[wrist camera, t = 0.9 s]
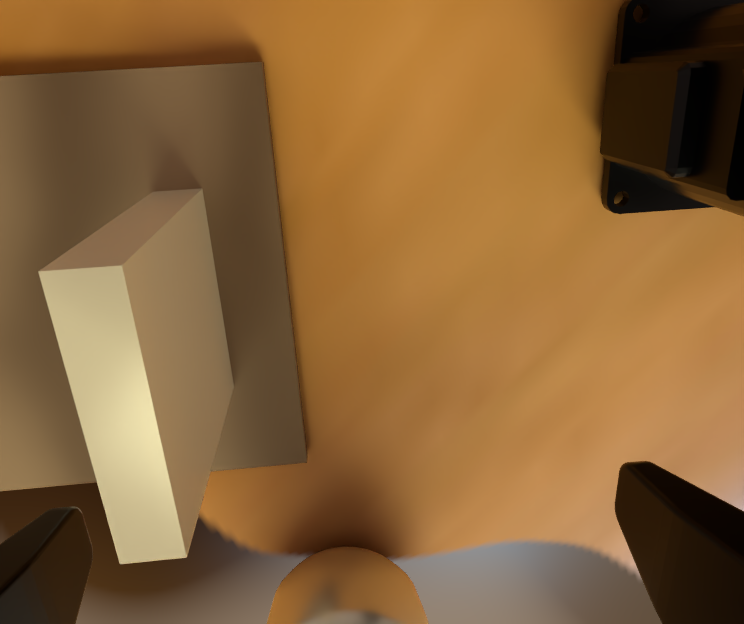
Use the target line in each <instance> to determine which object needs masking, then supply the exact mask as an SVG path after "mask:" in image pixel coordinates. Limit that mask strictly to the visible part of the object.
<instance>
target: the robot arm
mask: <svg viewBox="0 0 744 624" xmlns="http://www.w3.org/2000/svg"><path fill="white" fill-rule="evenodd" d="M637 5H638V6H640V7H641V8H642V10H643V15H642V18H641V20H640V21H639V22H636V21H635V20H634V19H633V11H634V9H635V7H636V6H637ZM600 153H601V154H602V155H603V156H604V158H605V164H604V175H603V185H602V196H601V199H602V204H603V206H604V208H606V209H607V210H609V211H611V212H613V213H618V214H624V213H638V212H652V211H666V210H680V209H694V208H708V207H717V208H720V209H723V210H726V211H729V212H732V213H735V214H738V215H741V216H744V0H626V1H625V2H624V3H623V5H622V7H621V8H620V12H619V15H618V26H617V37H616V47H615V58H614V65H613V67H612V68H611V69H610V70H609V71H608V73H607V80H606V91H605V102H604V113H603V124H602V135H601V146H600ZM621 191H622V192H623V198H622V200H621V201H620V202H619V203H617V204H615V203H614V197H615V195H616V194H617V193H618V192H621ZM615 513H616V517H617V520H618V522H619V525H620V527H621V530H622V532H623V535H624V537H625V539H626V542H627V544H628V547H629V549H630V551H631V554H632V556H633V559H634V561H635V563H636V566H637V568H638V571H639V573H640V575H641V578H642V580H643V583H644V585H645V587H646V590H647V592H648V595H649V597H650V599H651V601H652V604H653V606H654V608H655V610H656V612H657V614H658V616H659V618H660V620H661V622H662V624H744V511H742V510H740V509H738V508H736V507H734V506H732V505H731V504H729V503H727V502H725V501H723V500H721V499H719V498H717V497H715V496H714V495H712V494H710V493H708V492H706V491H704V490H702V489H700V488H699V487H697V486H695V485H693V484H691V483H689V482H687V481H685V480H684V479H682V478H680V477H678V476H676V475H674V474H672V473H670V472H668V471H667V470H665V469H663V468H661V467H659V466H657V465H655V464H653V463H651V462H648V461H639V462H627V463H624V464H623V465H622V466H621V468H620V471H619V478H618V485H617V492H616V499H615ZM92 560H93V549H92V544H91V541H90V537H89V534H88V530H87V527H86V524H85V520H84V517H83V514H82V511H81V510H80V509H79V508H77V507H62V508H52V509H49V510H47V511H46V512H44V513H43V514H42V515H40V516H39V517H38V518H36V519H35V520H33V521H32V522H30V523H29V524H28V525H26V526H25V527H23V528H22V529H21V530H19V531H18V532H17V533H15V534H14V535H12V536H11V537H10V538H8V539H7V540H5V541H4V542H2V543H1V544H0V624H75V623H76V620H77V616H78V612H79V608H80V605H81V601H82V597H83V594H84V591H85V587H86V583H87V580H88V576H89V572H90V569H91V565H92Z"/></svg>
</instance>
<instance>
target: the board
mask: <svg viewBox="0 0 744 624" xmlns="http://www.w3.org/2000/svg"><path fill="white" fill-rule="evenodd" d="M201 188H202V190H203V196H204V202H205V208H206V215H207V221H208V227H209V233H210V240H211V246H212V252H213V258H214V265H215V271H216V277H217V283H218V290H219V296H220V302H221V308H222V315H223V321H224V327H225V333H226V340H227V346H228V352H229V358H230V365H231V371H232V377H233V383H234V389H233V392H232V396H231V399H230V403H229V407H228V410H227V414H226V417H225V421H224V425H223V428H222V432H221V436H220V439H219V443H218V446H217V450H216V454H215V457H214V461H213V464H212V468H211V471H222V470H232V469H243V468H254V467H265V466H275V465H286V464H297V463H307V447H306V438H305V429H304V420H303V411H302V402H301V393H300V385H299V376H298V367H297V358H296V349H295V340H294V331H293V322H292V313H291V304H290V296H289V287H288V278H287V269H286V260H285V251H284V242H283V233H282V224H281V215H280V206H279V198H278V189H277V180H276V171H275V162H274V153H273V144H272V135H271V126H270V117H269V108H268V100H267V91H266V82H265V73H264V64H263V62H249V63H231V64H213V65H194V66H176V67H158V68H140V69H122V70H104V71H85V72H67V73H49V74H31V75H13V76H0V491H7V490H18V489H28V488H39V487H50V486H59V485H71V484H81V483H93V482H97V480H96V477H95V473H94V469H93V466H92V462H91V459H90V455H89V452H88V448H87V444H86V441H85V437H84V434H83V430H82V426H81V423H80V419H79V416H78V412H77V409H76V405H75V401H74V398H73V394H72V391H71V387H70V383H69V380H68V376H67V373H66V369H65V366H64V362H63V358H62V355H61V351H60V348H59V344H58V340H57V337H56V333H55V330H54V326H53V323H52V319H51V315H50V312H49V308H48V305H47V301H46V297H45V294H44V290H43V287H42V283H41V280H40V276H39V272H38V271H40V270H41V269H43V268H44V267H45V266H47V265H48V264H50V263H51V262H53V261H54V260H56V259H57V258H58V257H60V256H61V255H63V254H64V253H66V252H67V251H68V250H70V249H71V248H73V247H74V246H76V245H77V244H79V243H80V242H81V241H83V240H84V239H86V238H87V237H89V236H90V235H91V234H93V233H94V232H96V231H97V230H99V229H100V228H102V227H103V226H104V225H106V224H107V223H109V222H110V221H112V220H113V219H115V218H116V217H117V216H119V215H120V214H122V213H123V212H125V211H126V210H127V209H129V208H130V207H132V206H133V205H135V204H136V203H138V202H139V201H140V200H142V199H143V198H145V197H146V196H148V195H149V194H150V193H152V192H156V191H171V190H186V189H201Z"/></svg>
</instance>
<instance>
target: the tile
mask: <svg viewBox="0 0 744 624" xmlns="http://www.w3.org/2000/svg"><path fill="white" fill-rule="evenodd" d="M38 272H39V276H40V280H41V283H42V287H43V290H44V294H45V297H46V301H47V305H48V308H49V312H50V315H51V319H52V323H53V326H54V330H55V333H56V337H57V340H58V344H59V348H60V351H61V355H62V358H63V362H64V366H65V369H66V373H67V376H68V380H69V383H70V387H71V391H72V394H73V398H74V401H75V405H76V409H77V412H78V416H79V419H80V423H81V426H82V430H83V434H84V437H85V441H86V444H87V448H88V452H89V455H90V459H91V462H92V466H93V469H94V473H95V477H96V480H97V484H98V487H99V491H100V494H101V498H102V502H103V505H104V508H105V512H106V516H107V520H108V523H109V527H110V530H111V534H112V537H113V541H114V545H115V548H116V552H117V555H118V559H119V562H120V564H126V563H136V562H146V561H156V560H166V559H175V558H186V557H187V555H188V551H189V547H190V544H191V540H192V537H193V533H194V529H195V526H196V522H197V519H198V515H199V511H200V508H201V504H202V501H203V497H204V493H205V490H206V486H207V482H208V479H209V475H210V472H211V468H212V464H213V461H214V457H215V454H216V450H217V446H218V443H219V439H220V436H221V432H222V428H223V425H224V421H225V417H226V414H227V410H228V407H229V403H230V399H231V396H232V392H233V389H234V383H233V377H232V371H231V365H230V358H229V352H228V346H227V340H226V333H225V327H224V321H223V315H222V308H221V302H220V296H219V290H218V283H217V277H216V271H215V265H214V258H213V252H212V246H211V240H210V233H209V227H208V221H207V215H206V208H205V202H204V196H203V190H202V188H201V189H186V190H171V191H156V192H152V193H150V194H149V195H148V196H146V197H145V198H143V199H142V200H140V201H139V202H138V203H136V204H135V205H133V206H132V207H130V208H129V209H127V210H126V211H125V212H123V213H122V214H120V215H119V216H117V217H116V218H115V219H113V220H112V221H110V222H109V223H107V224H106V225H104V226H103V227H102V228H100V229H99V230H97V231H96V232H94V233H93V234H91V235H90V236H89V237H87V238H86V239H84V240H83V241H81V242H80V243H79V244H77V245H76V246H74V247H73V248H71V249H70V250H68V251H67V252H66V253H64V254H63V255H61V256H60V257H58V258H57V259H56V260H54V261H53V262H51V263H50V264H48V265H47V266H45V267H44V268H43V269H41V270H40V271H38Z"/></svg>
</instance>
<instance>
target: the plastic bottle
mask: <svg viewBox="0 0 744 624" xmlns="http://www.w3.org/2000/svg"><path fill="white" fill-rule="evenodd" d="M267 624H428V620H427V617H426V614H425V612H424V609H423V606H422V604H421V601H420V599H419V596H418V594H417V591H416V589H415V586H414V584H413V583H412V581H411V580H410V578H409V577H408V575H407V574H406V573H405V572H404V571H402V570H401V569H400V568H399V567H398V566H397V565H396V564H394V563H393V562H392V561H390V560H389V559H387V558H386V557H384V556H382V555H381V554H379V553H376V552H374V551H371V550H369V549H364V548H359V547H336V548H330V549H327V550H323V551H320V552H318V553H316V554H313V555H311V556H309V557H308V558H306V559H305V560H304V561H302V562H301V563H299V564H298V565H297V566H296V567H295V568H294V569H293V570H292V571H291V572H290V573H289V574H288V575H287V576H286V578H284V579H283V580H282V582H281V584H280V585H279V587H278V589H277V590H276V593H275V596H274V599H273V603H272V607H271V610H270V614H269V617H268V620H267Z"/></svg>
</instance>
